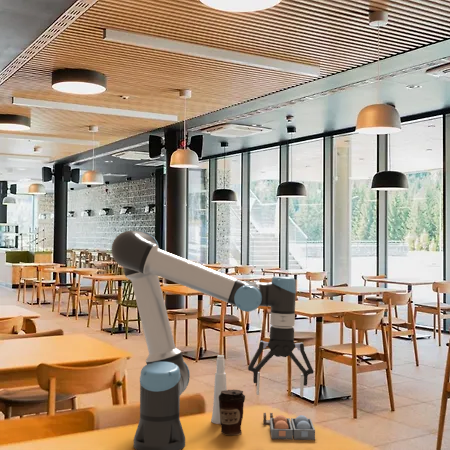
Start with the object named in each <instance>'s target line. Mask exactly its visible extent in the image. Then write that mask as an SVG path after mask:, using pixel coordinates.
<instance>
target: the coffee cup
mask: <svg viewBox="0 0 450 450" xmlns="http://www.w3.org/2000/svg"><path fill="white" fill-rule="evenodd" d="M245 400H246V395H245V394H244V391H243V390H240V389H227V390H225V391H221V394H220V395H219V410H220V423H221V424H220V432H221V434H222V435H226V436H238V435H241V434H242V423H243V418H244V417H243V416H244V407H245V406H244V403H245Z"/></svg>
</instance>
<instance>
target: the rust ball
mask: <svg viewBox="0 0 450 450" xmlns="http://www.w3.org/2000/svg"><path fill="white" fill-rule="evenodd" d="M273 418H274V426H275V424H276V422H278V421H281V420H282V421H285V422H286V423H287V419H286V416H284V415H282V414H278V415H276V416H275V417H273Z"/></svg>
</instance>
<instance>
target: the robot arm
mask: <svg viewBox="0 0 450 450" xmlns="http://www.w3.org/2000/svg"><path fill="white" fill-rule="evenodd" d="M111 256H112V258H113V260H114V261H115V262H116V264H117V265H119V266H121V268H123V272H124V275H125V278H127V279H128V280H129V281H131V284H132V287H133V288H132V290H133V293H134V297H135V300H136V306H137V309H138V313H139V319H140V321H141V325H142V330H143V334H144V339H145V342H146V347H147V350H148V356H147V357H146V359H145V362H146V363H145V365H144V366H143V367H142V368H141V370H140V376H139V422H138V424H137V427H136V430H135V433H134V437H133V448H134V450H182V449H184V448H185V446H186V435H185V432H184V429H183V426H182V422H181V419H180V411H181V410H180V405H181V404H180V403H181V402H180V401H181V399H180V396H181V395H182V394H183V393H184V392H185V391H186V389H187V388H188V385H189V382H190V376H191V375H190V369H189V366H188V364H187V363H186V362H185V359H184V356H183V352H182V350H181V349H179V348H178V347H176V345H175V340H174V336H173V332H172V328H171V323H170V321H169V315H168V311H167V307H166V304H165V300H164V295H163V291H162V287H161V283H160V278H163V279H165V280H168V281H171V282H173V283H176V284H178V285H181V286H184V287H186V288H190V289H191V290H194V291H197V292H200V293H202V294H205V295H207V296H210V297H212V298H215V299H216V300H220V301H222V302H225V303H227V304H229V305H232V306H234V307H237V308H238V309H239V310H240V311H242V312H253V311H256V310H257V309H258V308H259V307H267V308H268V307H269V308H270V318H269V319H270V320H269V321H270V322H269V324H270V325H271V326H270V327H269V340H268V341H264V340H260V341H259V345H258V348H257V350H256V352H255V354H254V355H253V357H252V358H251V360H250V362H249V365H248V366H247V369H248V371H249V372H252V373H253V375H252V376H253V384H256V396H259V395H260V380H261V379H260V378H261V372H260V370H261V369H262V368H263V367H264V366H265V365H266V364H267V363H268V361H270V360H271V358H273V357H274V356H275V357H277V358H278V357H279V358H281V357H283V358H288V357H290V359H291V360H292V361H293V362H294V364H295V365H296V366H297V368H298V369H299V371H301V373H300V381H299V382H300V384H299V396H300V397H301V398H304V390H305V389H304V387H307V385H308V376H309V375H312V374H314V369H313V366H312V365H311V363H310V360H309V358H308V356H307V353H306V351H305V344H304V342H302V341H301V342H296V343H295V328H294V327H295V321H296V320H295V319H296V317H295V316H296V300H297V299H296V297H297V296H296V295H297V290H296V289H297V288H296V287H297V286H296V285H297V284H296V282H297V281H296V279H295V278H294V277H291V276H273V277H272V279H271V281H270V282H262V281H261V282H258V281H246V280H241V279H237V278H234V277H233V276H229V275H227V274H225V273H222V272H220V271H218V270H214V269H212V268H210V267H209V268H208V267H207V266H204V265H202V264H199V263H197V262H194V261H191V260H188V259H186V258H183V257H181V256H178V255H176V254H173V253H170V252H168V251H165V250H163V249H160V246H159V243H158V241H157V240H156V238H155V237H154V236H153V235H151V234H150V233H148V232H146V231H143V230H126V231H123V232H121V233H118V235H116V237H115V239H114V240H113V242H112V244H111ZM159 277H160V278H159ZM267 347H268V348H269V351H268V352H267V354H266V355H265V356H264V357H263V358H262V359H261V360H260V361H259V363H258V364H257V362H258V360H259V358H260V356H261V354H262V352H263V350H264V349H266V348H267ZM296 348H297V350H298V351H299V352H300V354H301V356H302V359H303V361H304V363H305V365H306V367H307V369H306V368H305V367H304V366H303V364H302V362H300V361H299V359H298V358H297V357H296V356H295V354H294V353H293V351H294V349H296ZM255 365H256V366H255Z"/></svg>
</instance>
